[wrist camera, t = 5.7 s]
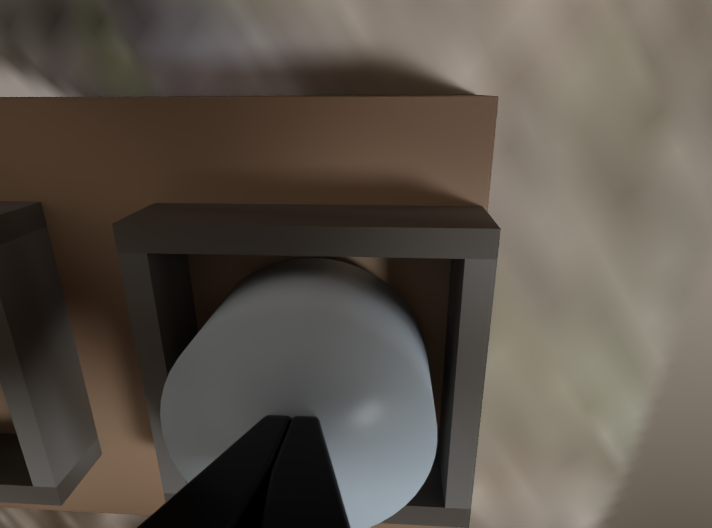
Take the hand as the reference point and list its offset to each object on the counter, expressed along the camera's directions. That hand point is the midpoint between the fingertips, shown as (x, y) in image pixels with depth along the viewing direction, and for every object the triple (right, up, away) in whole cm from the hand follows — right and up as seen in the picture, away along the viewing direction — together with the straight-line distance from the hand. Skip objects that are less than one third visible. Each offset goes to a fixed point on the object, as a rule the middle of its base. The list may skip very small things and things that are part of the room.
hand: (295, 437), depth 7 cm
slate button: (0, +1, +2) cm, 2 cm away
